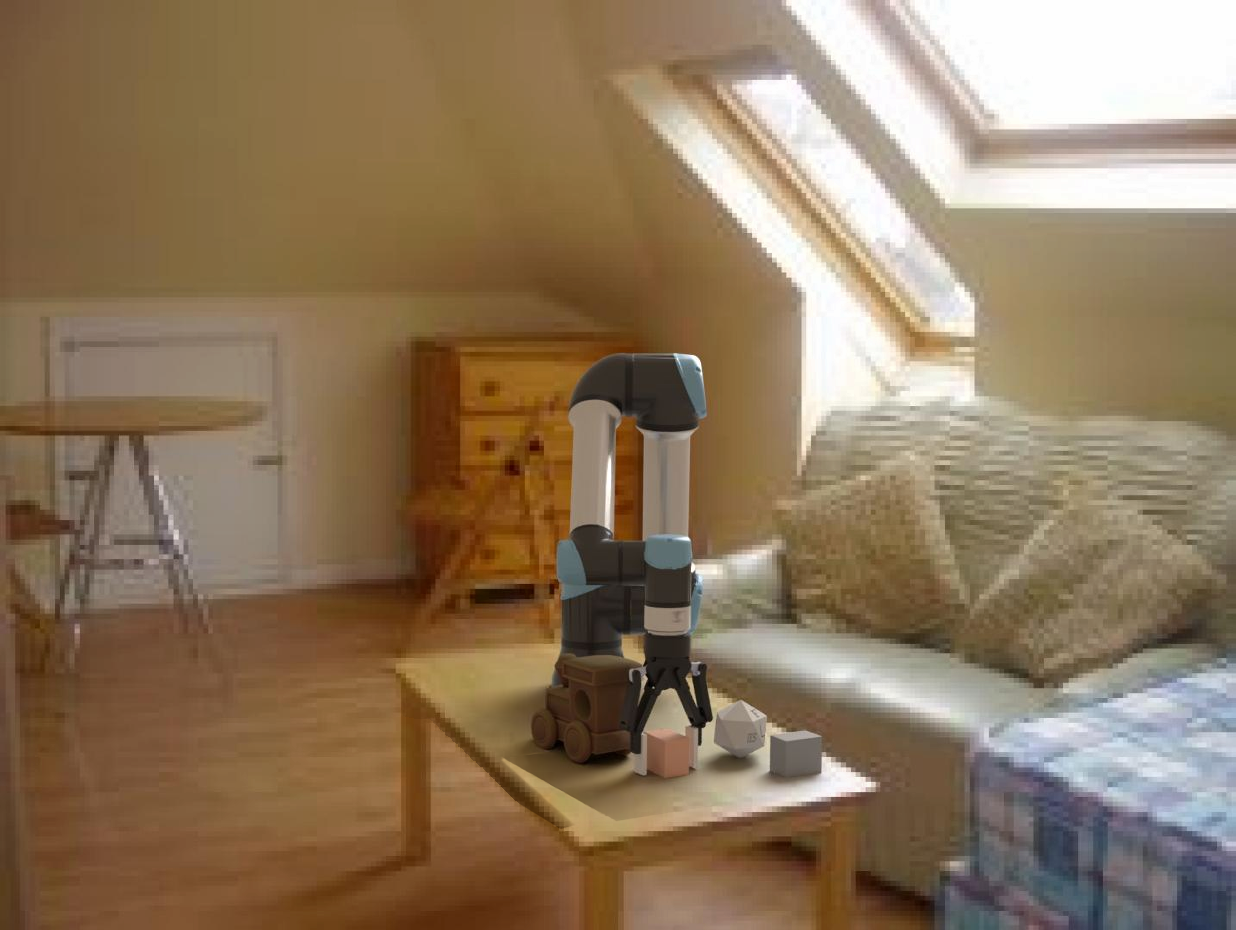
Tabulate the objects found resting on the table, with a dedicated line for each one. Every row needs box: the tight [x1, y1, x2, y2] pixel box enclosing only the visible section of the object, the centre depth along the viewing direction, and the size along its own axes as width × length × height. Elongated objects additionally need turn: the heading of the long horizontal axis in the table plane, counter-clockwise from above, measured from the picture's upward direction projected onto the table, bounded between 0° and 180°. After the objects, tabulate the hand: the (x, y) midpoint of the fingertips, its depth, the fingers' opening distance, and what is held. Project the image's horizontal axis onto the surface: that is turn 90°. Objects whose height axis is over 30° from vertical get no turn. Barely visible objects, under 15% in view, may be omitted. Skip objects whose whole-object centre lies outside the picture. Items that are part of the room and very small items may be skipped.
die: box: [713, 699, 768, 759], centre depth 251 cm, size 8×9×10 cm
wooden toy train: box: [530, 653, 643, 764], centre depth 254 cm, size 20×11×17 cm, turn 35°
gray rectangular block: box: [769, 729, 823, 779], centre depth 243 cm, size 4×7×6 cm, turn 119°
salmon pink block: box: [642, 728, 690, 779], centre depth 243 cm, size 7×4×6 cm, turn 29°
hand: (666, 769), depth 243 cm, fingers open, 9 cm apart
